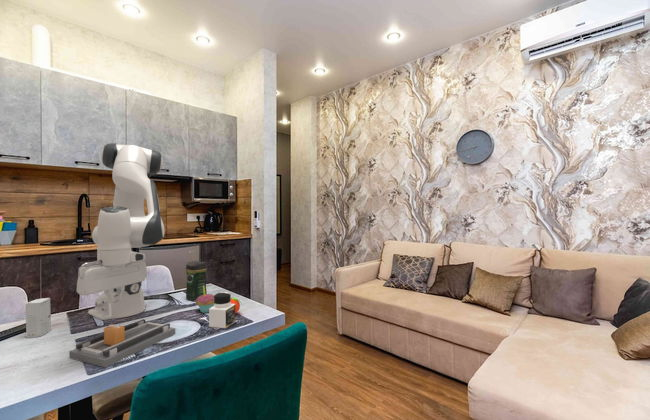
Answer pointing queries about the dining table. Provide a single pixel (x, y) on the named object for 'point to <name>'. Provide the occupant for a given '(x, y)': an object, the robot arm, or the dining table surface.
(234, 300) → the clementine
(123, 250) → the robot arm
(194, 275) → the coffee jar
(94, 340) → the pair of dark pieces
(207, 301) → the cupcake
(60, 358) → the dining table surface
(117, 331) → the block
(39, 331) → the skincare box
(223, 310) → the medicine bottle
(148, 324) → the panel
